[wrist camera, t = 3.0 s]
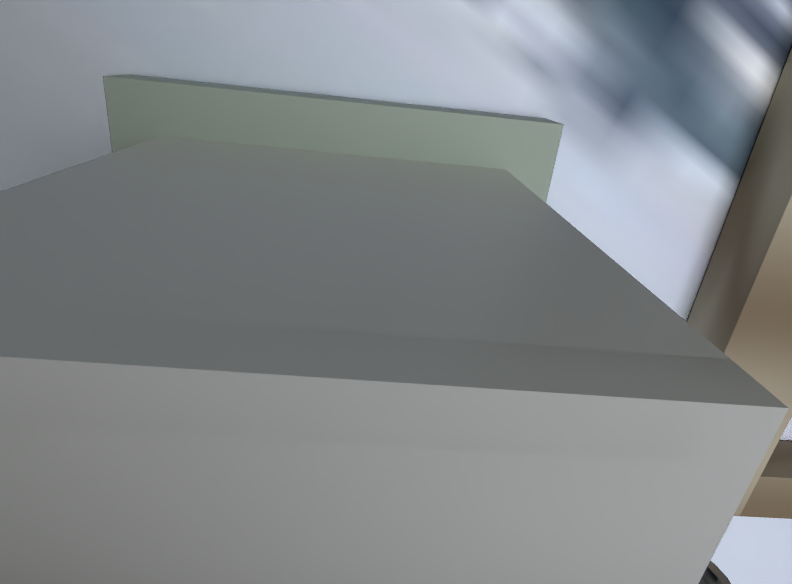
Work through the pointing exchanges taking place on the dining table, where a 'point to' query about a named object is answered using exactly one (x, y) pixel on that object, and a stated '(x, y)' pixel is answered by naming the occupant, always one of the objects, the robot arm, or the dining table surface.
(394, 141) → the pad
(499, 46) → the dining table surface
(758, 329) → the board
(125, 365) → the block
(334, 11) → the dining table surface
